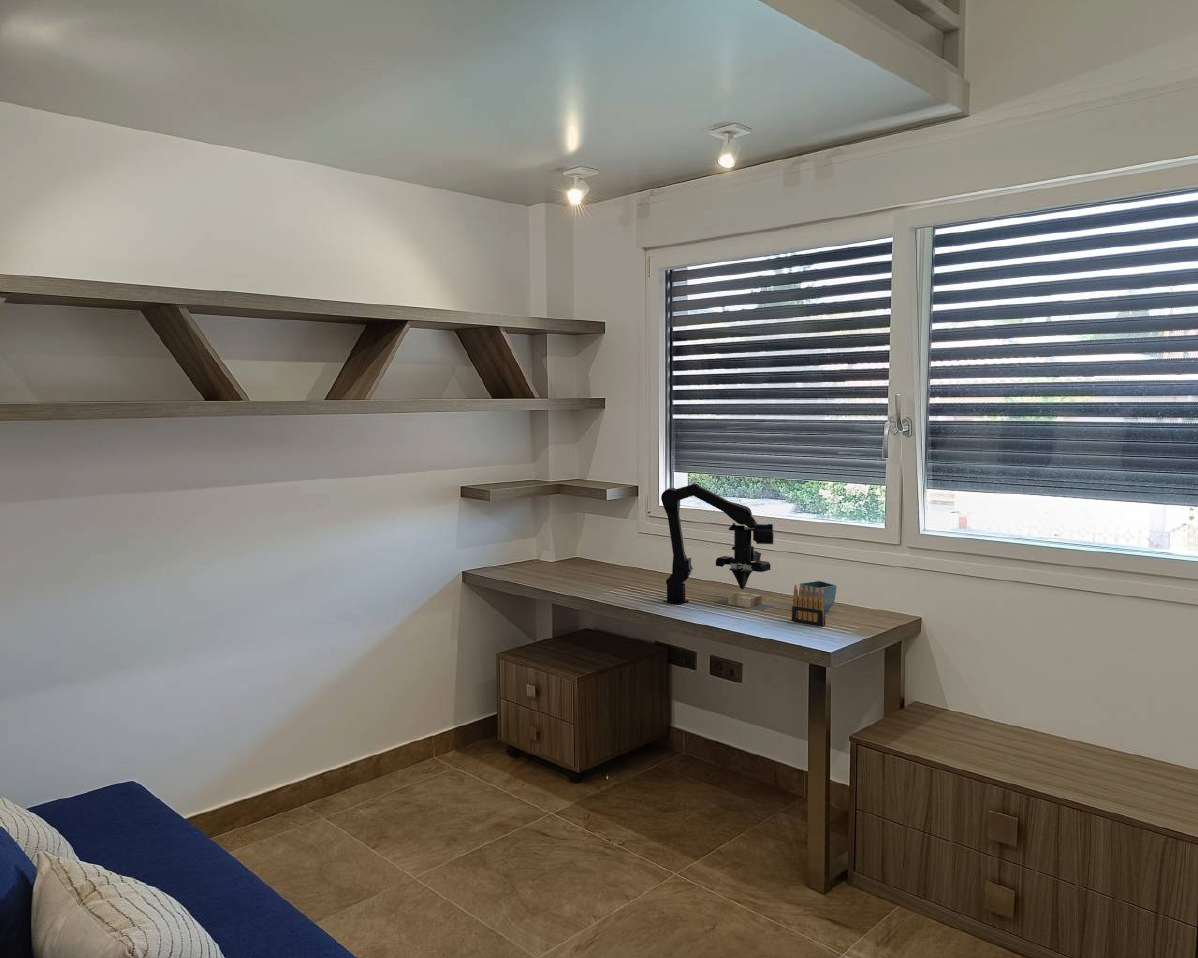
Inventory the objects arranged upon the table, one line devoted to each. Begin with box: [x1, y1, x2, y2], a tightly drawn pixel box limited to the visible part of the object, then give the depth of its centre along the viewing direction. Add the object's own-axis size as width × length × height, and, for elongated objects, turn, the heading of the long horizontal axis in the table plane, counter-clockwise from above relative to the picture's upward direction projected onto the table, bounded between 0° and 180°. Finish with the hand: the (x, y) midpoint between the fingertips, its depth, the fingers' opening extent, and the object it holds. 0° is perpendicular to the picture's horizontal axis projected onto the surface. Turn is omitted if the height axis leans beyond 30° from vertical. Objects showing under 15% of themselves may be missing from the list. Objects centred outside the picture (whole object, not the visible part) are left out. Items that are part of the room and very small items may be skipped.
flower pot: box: [799, 580, 838, 613], centre depth 302 cm, size 9×9×9 cm
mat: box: [715, 598, 774, 611], centre depth 312 cm, size 8×18×1 cm, turn 48°
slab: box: [727, 591, 763, 609], centre depth 312 cm, size 7×3×9 cm
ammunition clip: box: [791, 583, 826, 628], centre depth 285 cm, size 11×2×12 cm, turn 51°
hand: (742, 588), depth 312 cm, fingers closed
